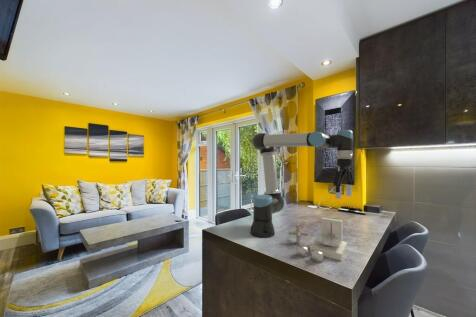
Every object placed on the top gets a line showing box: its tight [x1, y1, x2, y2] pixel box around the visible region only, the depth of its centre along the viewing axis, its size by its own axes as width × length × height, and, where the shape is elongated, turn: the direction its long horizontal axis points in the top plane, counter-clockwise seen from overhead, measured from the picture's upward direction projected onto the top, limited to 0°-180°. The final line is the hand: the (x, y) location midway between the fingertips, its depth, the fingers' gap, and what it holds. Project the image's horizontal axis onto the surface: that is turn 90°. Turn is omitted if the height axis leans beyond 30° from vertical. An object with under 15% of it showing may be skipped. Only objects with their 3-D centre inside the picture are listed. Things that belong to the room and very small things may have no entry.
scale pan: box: [313, 233, 342, 247], centre depth 101 cm, size 11×11×1 cm
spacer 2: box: [311, 249, 324, 264], centre depth 91 cm, size 5×5×4 cm
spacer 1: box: [296, 244, 309, 258], centre depth 96 cm, size 5×5×4 cm
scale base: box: [309, 217, 348, 261], centre depth 102 cm, size 14×18×14 cm
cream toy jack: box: [288, 223, 309, 244], centre depth 111 cm, size 10×10×10 cm
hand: (343, 197), depth 109 cm, fingers open, 13 cm apart
